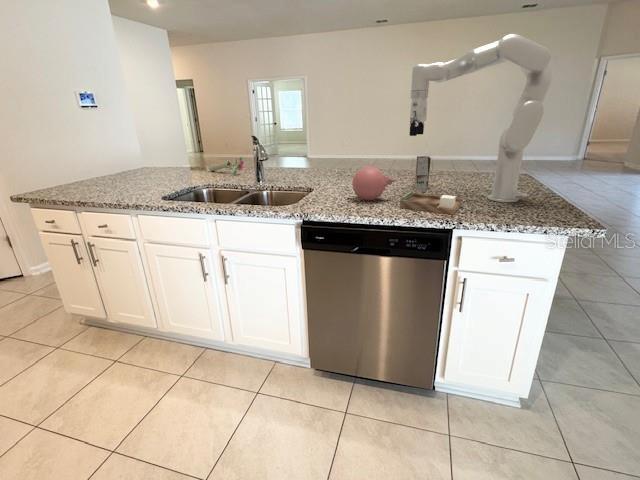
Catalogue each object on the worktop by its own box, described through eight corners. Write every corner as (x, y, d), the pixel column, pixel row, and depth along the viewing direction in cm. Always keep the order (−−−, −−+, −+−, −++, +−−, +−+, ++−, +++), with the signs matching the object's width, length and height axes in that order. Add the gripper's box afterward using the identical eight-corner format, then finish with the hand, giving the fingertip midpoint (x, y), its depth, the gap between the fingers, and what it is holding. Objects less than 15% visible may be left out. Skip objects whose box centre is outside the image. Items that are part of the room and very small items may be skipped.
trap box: (460, 205, 146) (462, 195, 144) (453, 214, 134) (454, 203, 132) (410, 200, 156) (411, 190, 155) (399, 208, 145) (400, 197, 143)
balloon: (393, 205, 149) (395, 170, 143) (349, 203, 154) (349, 169, 149) (396, 197, 163) (398, 164, 157) (355, 195, 168) (355, 164, 163)
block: (454, 205, 139) (455, 196, 137) (452, 208, 135) (453, 198, 133) (442, 204, 141) (443, 194, 140) (439, 207, 137) (440, 197, 136)
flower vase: (218, 181, 252) (252, 174, 232) (205, 179, 241) (239, 171, 222) (218, 165, 252) (251, 157, 233) (204, 162, 242) (238, 153, 222)
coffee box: (428, 189, 177) (431, 158, 171) (415, 189, 178) (417, 157, 173) (426, 185, 186) (429, 155, 180) (414, 185, 187) (416, 155, 181)
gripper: (421, 94, 143) (418, 136, 149) (433, 95, 156) (429, 133, 162) (404, 95, 147) (402, 136, 153) (417, 96, 160) (414, 133, 166)
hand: (416, 135), depth 157 cm, fingers open, 9 cm apart
